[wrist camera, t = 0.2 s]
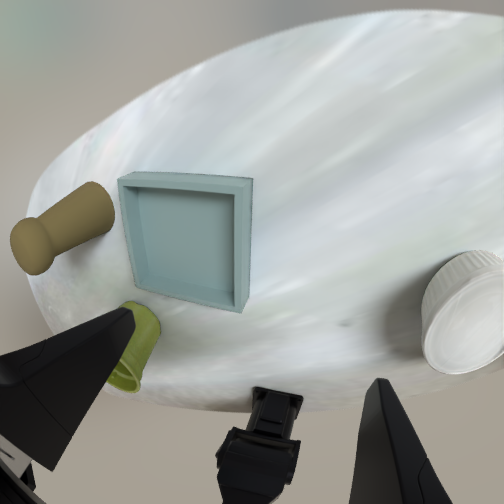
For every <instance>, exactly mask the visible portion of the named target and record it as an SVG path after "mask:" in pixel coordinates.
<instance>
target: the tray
mask: <svg viewBox="0 0 504 504" xmlns="http://www.w3.org/2000/svg"><path fill="white" fill-rule="evenodd" d="M117 182H118V190H119V198H120V205H121V212H122V218H123V224H124V230H125V236H126V241H127V247H128V252H129V257H130V261H131V266H132V271H133V275H134V280H135V284H136V287H137V288H140V289H144V290H148V291H151V292H155V293H159V294H162V295H166V296H170V297H174V298H177V299H181V300H185V301H189V302H193V303H197V304H202V305H206V306H210V307H214V308H218V309H223V310H227V311H232V312H236V313H242V311H243V309H244V307H245V304H246V302H247V300H248V298H249V285H250V254H251V223H252V193H253V178H244V177H233V176H220V175H206V174H190V173H169V172H132V173H130V174H127V175H125V176H123V177H120V178H118V179H117Z"/></svg>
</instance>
